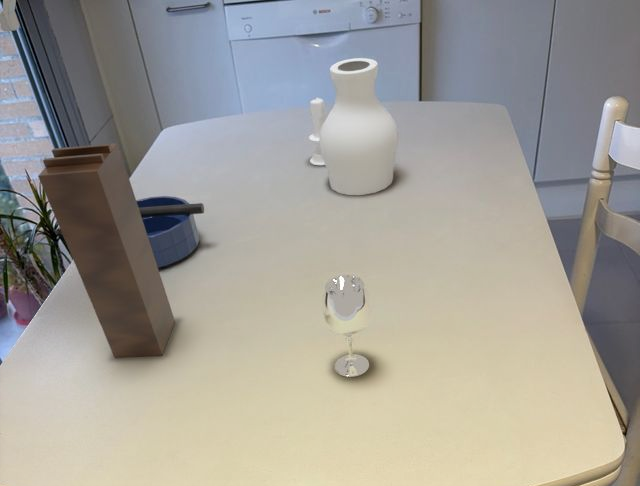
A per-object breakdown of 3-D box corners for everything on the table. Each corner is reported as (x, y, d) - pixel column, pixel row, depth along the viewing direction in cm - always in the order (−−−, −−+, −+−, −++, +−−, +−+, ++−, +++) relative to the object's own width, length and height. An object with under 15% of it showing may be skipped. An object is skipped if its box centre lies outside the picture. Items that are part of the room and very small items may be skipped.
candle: (314, 154, 134) (307, 92, 125) (339, 154, 132) (333, 92, 124) (306, 165, 130) (299, 102, 122) (332, 166, 129) (326, 102, 120)
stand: (114, 357, 91) (34, 168, 72) (130, 324, 96) (60, 140, 78) (162, 355, 90) (94, 163, 71) (175, 321, 95) (115, 135, 77)
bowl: (101, 275, 108) (88, 242, 103) (127, 230, 118) (116, 199, 114) (189, 270, 106) (180, 236, 101) (207, 225, 116) (199, 193, 112)
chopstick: (88, 223, 109) (84, 215, 107) (90, 217, 110) (86, 209, 108) (203, 215, 106) (200, 207, 105) (204, 209, 107) (202, 201, 106)
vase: (313, 176, 126) (299, 64, 112) (379, 158, 129) (374, 46, 115) (340, 205, 116) (329, 85, 102) (412, 184, 119) (411, 65, 105)
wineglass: (382, 359, 84) (378, 278, 75) (359, 385, 81) (352, 304, 72) (344, 347, 86) (336, 268, 78) (321, 372, 83) (310, 292, 75)
